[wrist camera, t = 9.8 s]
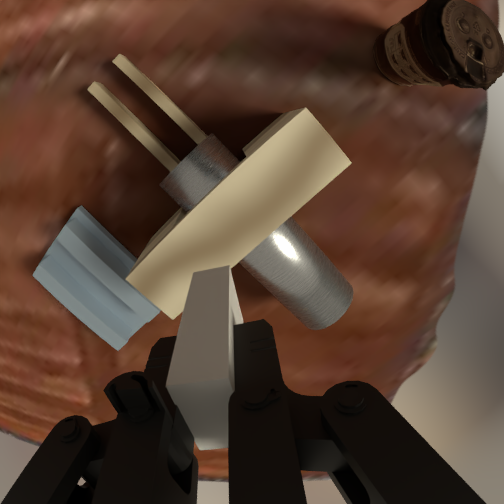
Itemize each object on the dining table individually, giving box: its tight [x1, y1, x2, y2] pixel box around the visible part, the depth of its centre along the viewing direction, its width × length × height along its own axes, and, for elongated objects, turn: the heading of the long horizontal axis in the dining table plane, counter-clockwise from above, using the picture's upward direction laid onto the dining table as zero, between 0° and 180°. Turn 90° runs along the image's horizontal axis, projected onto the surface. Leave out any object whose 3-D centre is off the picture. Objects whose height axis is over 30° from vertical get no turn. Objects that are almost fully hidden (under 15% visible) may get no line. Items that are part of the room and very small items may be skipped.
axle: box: [159, 133, 353, 330], centre depth 28 cm, size 19×6×6 cm, turn 42°
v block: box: [33, 205, 160, 351], centre depth 32 cm, size 14×10×4 cm
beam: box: [87, 54, 351, 319], centre depth 26 cm, size 33×18×10 cm, turn 42°
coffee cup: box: [373, 0, 504, 90], centre depth 21 cm, size 9×8×13 cm
